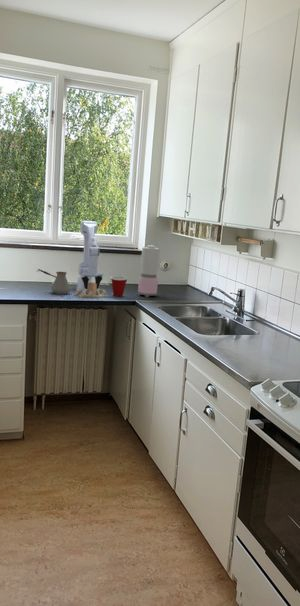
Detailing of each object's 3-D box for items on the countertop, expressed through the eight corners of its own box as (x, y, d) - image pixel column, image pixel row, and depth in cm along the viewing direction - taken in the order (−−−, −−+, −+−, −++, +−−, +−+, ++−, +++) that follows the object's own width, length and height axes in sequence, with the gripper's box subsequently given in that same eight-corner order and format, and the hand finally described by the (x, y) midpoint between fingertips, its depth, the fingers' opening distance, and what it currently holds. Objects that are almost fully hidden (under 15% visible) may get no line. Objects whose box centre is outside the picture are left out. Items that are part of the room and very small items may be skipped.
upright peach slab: (85, 292, 313) (86, 281, 312) (89, 292, 315) (89, 281, 313) (92, 295, 307) (93, 283, 306) (96, 295, 309) (96, 283, 307)
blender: (149, 298, 319) (153, 247, 313) (133, 294, 326) (137, 244, 319) (162, 295, 332) (167, 246, 326) (147, 292, 339) (151, 244, 332)
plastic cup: (105, 295, 315) (107, 276, 313) (114, 293, 325) (116, 275, 322) (120, 298, 310) (122, 279, 308) (129, 296, 320) (131, 277, 318)
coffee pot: (65, 291, 319) (66, 267, 316) (73, 294, 310) (74, 270, 307) (32, 292, 307) (33, 267, 304) (40, 295, 298) (41, 270, 295)
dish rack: (74, 294, 310) (74, 288, 309) (97, 293, 321) (98, 287, 320) (83, 298, 302) (83, 292, 301) (107, 296, 312) (107, 291, 311)
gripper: (85, 267, 300) (84, 290, 303) (106, 267, 309) (104, 289, 312) (79, 265, 306) (78, 288, 308) (100, 265, 314) (98, 287, 317)
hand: (91, 288), depth 310 cm, fingers open, 7 cm apart
